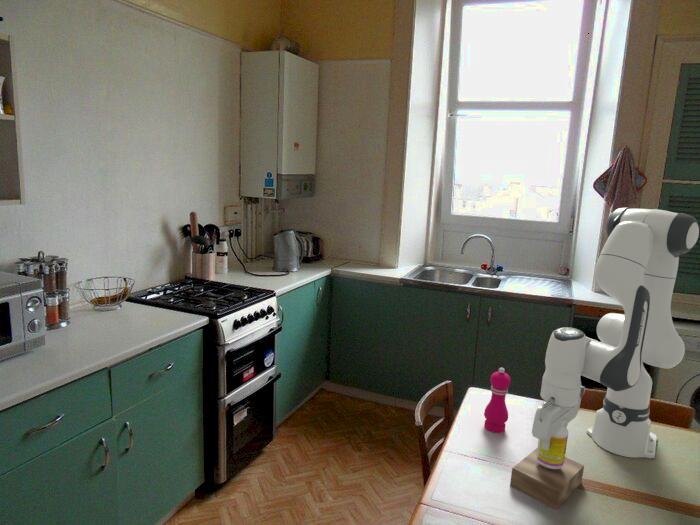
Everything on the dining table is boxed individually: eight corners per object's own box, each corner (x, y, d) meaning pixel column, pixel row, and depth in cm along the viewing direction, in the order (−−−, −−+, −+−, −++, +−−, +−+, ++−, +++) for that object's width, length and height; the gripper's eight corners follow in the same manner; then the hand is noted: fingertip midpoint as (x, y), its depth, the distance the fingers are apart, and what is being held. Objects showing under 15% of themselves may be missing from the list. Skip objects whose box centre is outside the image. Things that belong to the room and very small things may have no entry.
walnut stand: (537, 462, 140) (539, 445, 139) (581, 482, 132) (584, 465, 131) (509, 485, 129) (512, 467, 128) (556, 509, 121) (559, 490, 120)
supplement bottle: (566, 472, 126) (573, 425, 123) (538, 468, 127) (544, 420, 124) (560, 457, 132) (567, 412, 130) (534, 453, 133) (540, 408, 131)
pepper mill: (487, 419, 163) (494, 361, 159) (509, 427, 159) (517, 367, 155) (479, 428, 157) (486, 367, 153) (501, 436, 153) (509, 374, 149)
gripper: (555, 409, 116) (547, 464, 119) (587, 386, 131) (580, 434, 133) (529, 400, 121) (522, 452, 123) (563, 377, 135) (556, 425, 138)
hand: (552, 443), depth 128 cm, fingers closed on supplement bottle, 7 cm apart
